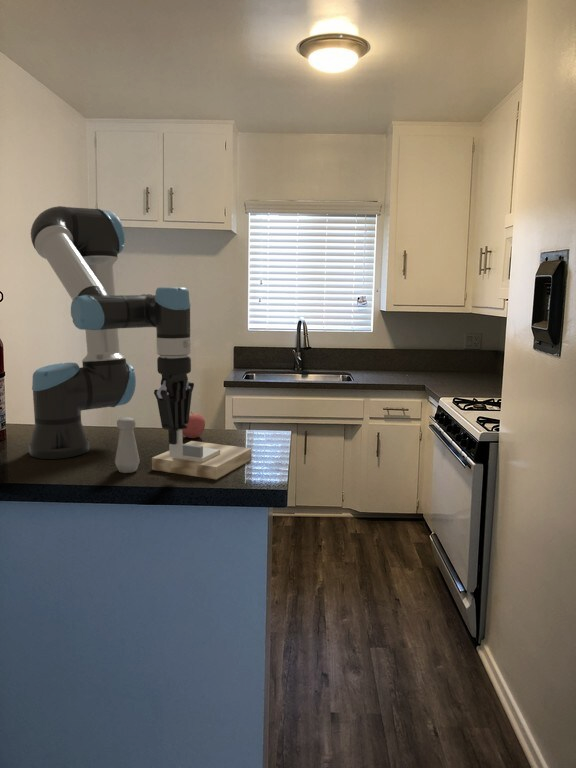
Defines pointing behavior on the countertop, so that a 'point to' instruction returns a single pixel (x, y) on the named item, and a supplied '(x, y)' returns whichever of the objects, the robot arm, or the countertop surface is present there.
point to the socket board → (208, 469)
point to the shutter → (197, 453)
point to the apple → (194, 426)
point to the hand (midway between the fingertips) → (176, 456)
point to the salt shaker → (126, 446)
